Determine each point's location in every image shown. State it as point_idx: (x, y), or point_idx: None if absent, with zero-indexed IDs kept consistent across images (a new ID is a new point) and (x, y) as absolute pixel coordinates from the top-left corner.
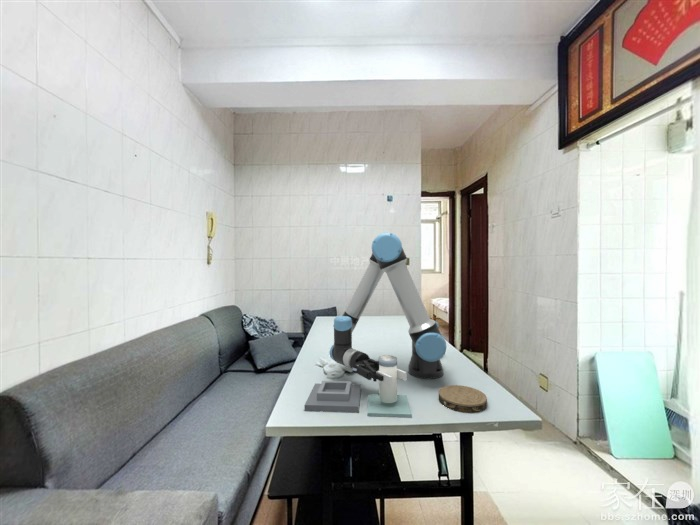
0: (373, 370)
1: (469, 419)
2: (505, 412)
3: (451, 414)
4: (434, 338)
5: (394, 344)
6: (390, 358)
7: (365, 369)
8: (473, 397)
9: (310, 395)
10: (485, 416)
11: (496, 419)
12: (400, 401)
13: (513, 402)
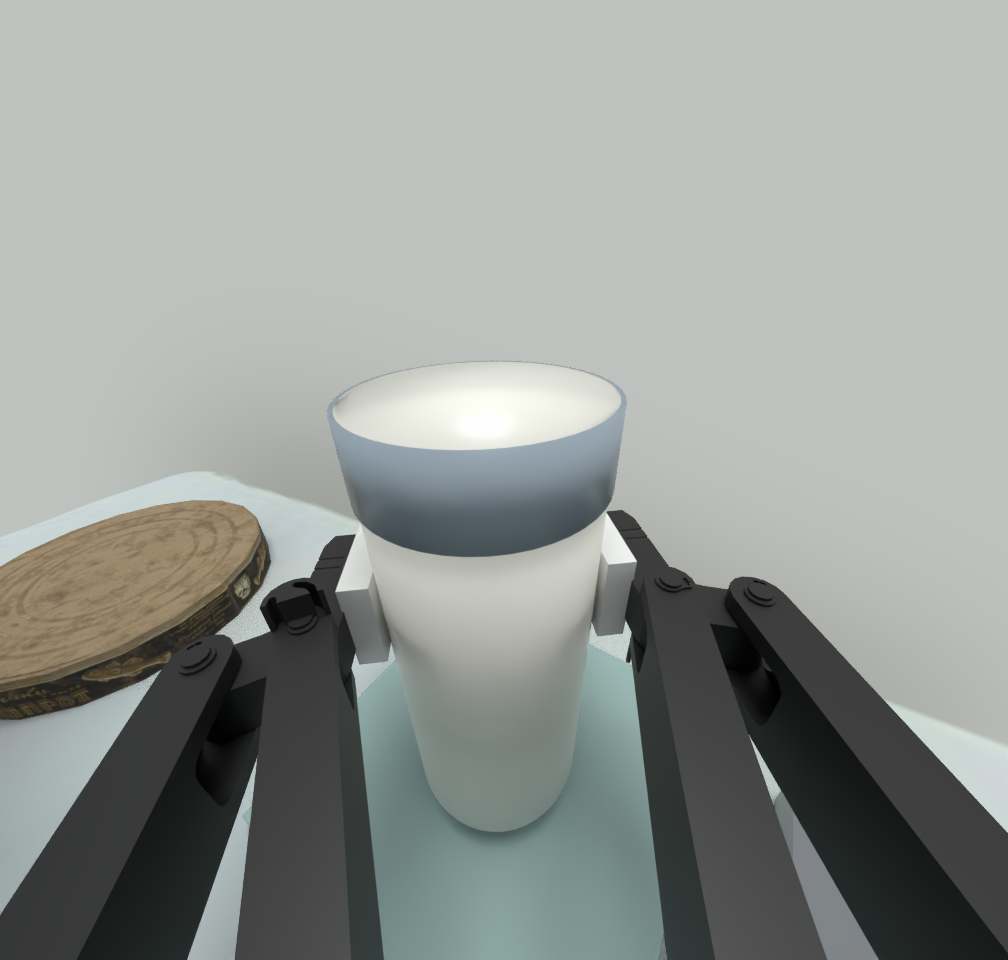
0: (680, 621)
1: (310, 515)
2: (180, 501)
3: (314, 552)
4: None
5: None
6: (459, 382)
7: (851, 727)
8: (143, 532)
9: None
10: (253, 509)
11: (256, 492)
12: (397, 732)
13: (55, 521)
